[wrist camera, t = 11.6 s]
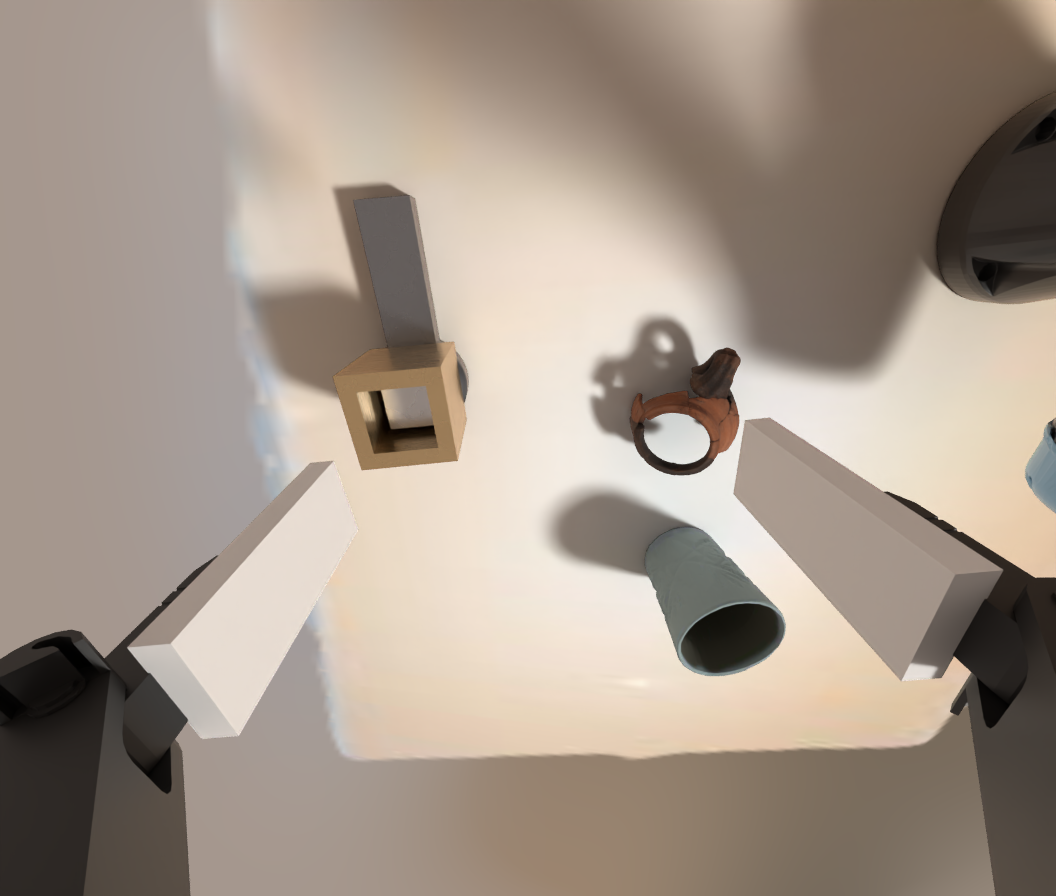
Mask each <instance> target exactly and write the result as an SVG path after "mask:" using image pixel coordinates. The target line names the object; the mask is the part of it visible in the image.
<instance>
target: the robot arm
mask: <svg viewBox="0 0 1056 896" xmlns="http://www.w3.org/2000/svg"><path fill="white" fill-rule="evenodd" d="M937 253H938V263H939V267H940V270H941V273H942V276H943V278H944V280H945V281H946V283H947V284H948V286H949V287H950V288H951V289H952V290H953V291H954V292H956V293H957V294H958V295H960V296H962V297H964V298H966V299H969V300H973V301H979V302H989V303H999V304H1022V303H1030V302H1036V301H1042V300H1048V299H1054V298H1056V92H1054V93H1051V94H1049V95H1047V96H1045V97H1043V98H1041V99H1039V100H1038V101H1036V102H1034V103H1033V104H1031V105H1029V106H1028V107H1026V108H1025V109H1023V110H1022V111H1020V112H1019V113H1018V114H1017V115H1015V116H1014V117H1013V118H1011V119H1010V120H1009V121H1008V122H1007V123H1005V124H1004V125H1003V126H1002V127H1001V128H1000V129H999V130H998V131H997V132H996V133H995V134H994V135H993V136H992V137H991V138H990V139H989V140H988V141H987V142H986V143H985V145H984V146H983V147H982V148H981V149H980V150H979V152H978V153H977V154H976V155H975V157H974V158H973V159H972V161H971V162H970V163H969V165H968V166H967V168H966V169H965V171H964V172H963V174H962V176H961V177H960V179H959V181H958V183H957V184H956V186H955V188H954V190H953V192H952V194H951V196H950V199H949V201H948V203H947V206H946V208H945V211H944V214H943V217H942V221H941V225H940V229H939V235H938V246H937ZM1025 478H1026V480H1027V482H1028V485H1029V487H1030V488H1031V489H1032V490H1033V492H1034V494H1035V495H1036V496H1037V498H1038V499H1039V500H1040V501H1041V502H1042V503H1044V504H1045V505H1046V506H1047V507H1048V508H1049V509H1051V510H1052V511H1053V512H1055V513H1056V418H1054V419H1053V420H1052V421H1050V422H1049V423H1048V424H1047V425H1046V427H1045V429H1044V438H1043V439H1042V441H1041V442H1040V444H1039V446H1038V447H1037V449H1036V450H1035V452H1034V453H1033V455H1032V457H1031V458H1030V460H1029V461H1028V463H1027V465H1026V469H1025ZM734 495H735V496H736V497H737V499H738V500H739V501H740V502H741V503H742V504H743V505H744V506H745V507H746V509H747V510H748V511H749V512H750V513H751V514H752V515H753V516H754V518H755V519H756V520H757V521H758V522H759V523H760V524H761V525H762V526H763V528H764V529H765V530H766V531H767V532H768V533H769V534H770V535H771V536H772V538H773V539H774V540H775V541H776V542H777V543H778V544H779V545H780V547H781V548H782V549H783V550H784V551H785V552H786V553H787V554H788V555H789V557H790V558H791V559H792V560H793V561H794V562H795V563H796V564H797V565H798V567H799V568H800V569H801V570H802V571H803V572H804V573H805V574H806V576H807V577H808V578H809V579H810V580H811V581H812V582H813V583H814V584H815V586H816V587H817V588H818V589H819V590H820V591H821V592H822V593H823V594H824V596H825V597H826V598H827V599H828V600H829V601H830V602H831V603H832V605H833V606H834V607H835V608H836V609H837V610H838V611H839V612H840V613H841V615H842V616H843V617H844V618H845V619H846V620H847V621H848V622H849V623H850V625H851V626H852V627H853V628H854V629H855V630H856V631H857V632H858V634H859V635H860V636H861V637H862V638H863V639H864V640H865V641H866V642H867V644H868V645H869V646H870V647H871V648H872V649H873V650H874V651H875V652H876V654H877V655H878V656H879V657H880V658H881V659H882V660H883V661H884V663H885V664H886V665H887V666H888V667H889V668H890V669H891V670H892V671H893V673H894V674H895V675H896V676H897V677H898V678H899V679H900V680H901V681H910V680H922V679H934V678H942V676H943V675H944V673H945V671H946V669H947V668H948V666H949V664H950V662H951V661H952V659H953V657H954V656H955V657H956V658H957V659H958V660H959V661H960V662H961V663H962V664H963V665H964V666H965V667H966V668H968V669H969V670H970V671H971V674H970V676H969V677H968V679H967V680H966V682H965V684H964V685H963V687H962V688H961V690H960V692H959V693H958V695H957V697H956V698H955V700H954V701H953V703H952V706H951V710H950V712H951V713H954V714H956V715H959V714H960V712H961V711H962V709H963V708H964V706H967V705H968V708H969V714H970V722H971V729H972V735H973V742H974V749H975V756H976V762H977V770H978V777H979V783H980V791H981V798H982V805H983V811H984V818H985V825H986V832H987V839H988V846H989V853H990V860H991V867H992V873H993V880H994V887H995V894H996V896H1056V578H1035V577H1033V576H1031V575H1030V574H1028V573H1027V572H1025V571H1023V570H1022V569H1020V568H1019V567H1017V566H1015V565H1014V564H1012V563H1011V562H1009V561H1007V560H1006V559H1004V558H1003V557H1001V556H999V555H998V554H996V553H995V552H993V551H991V550H990V549H988V548H987V547H985V546H983V545H982V544H980V543H979V542H977V541H975V540H974V539H972V538H971V537H969V536H968V535H966V534H964V533H963V532H957V529H956V528H955V527H953V526H952V525H950V524H948V523H947V522H945V521H944V520H938V517H937V516H936V515H934V514H932V513H931V512H929V511H928V510H926V509H924V508H923V507H921V506H920V505H918V504H916V503H915V502H912V501H910V500H907V499H905V498H902V497H900V496H897V495H895V494H892V493H890V492H883V491H881V490H880V489H878V488H877V487H875V486H874V485H872V484H871V483H869V482H868V481H866V480H864V479H863V478H861V477H860V476H858V475H857V474H855V473H854V472H852V471H851V470H849V469H848V468H846V467H844V466H843V465H841V464H840V463H838V462H837V461H835V460H834V459H832V458H831V457H829V456H828V455H826V454H825V453H823V452H821V451H820V450H818V449H817V448H815V447H814V446H812V445H811V444H809V443H808V442H806V441H805V440H803V439H802V438H800V437H798V436H797V435H795V434H794V433H792V432H791V431H789V430H788V429H786V428H785V427H783V426H782V425H780V424H778V423H777V422H775V421H774V420H772V419H771V418H762V419H752V420H745V424H744V430H743V436H742V443H741V449H740V456H739V462H738V468H737V475H736V481H735V487H734ZM357 531H358V527H357V524H356V521H355V518H354V516H353V513H352V510H351V507H350V504H349V502H348V499H347V496H346V493H345V491H344V488H343V485H342V482H341V479H340V477H339V474H338V471H337V468H336V465H335V463H334V461H326V462H316V463H310V464H309V465H308V466H307V467H306V468H305V469H304V470H303V471H302V472H301V473H300V474H299V475H298V476H297V477H296V478H295V479H294V480H293V481H292V482H291V483H290V484H289V485H288V486H287V487H286V488H285V489H284V490H283V491H282V492H281V493H280V494H279V495H278V496H277V497H276V498H275V499H274V500H273V501H272V502H271V503H270V504H269V505H268V506H267V507H266V508H265V509H264V510H263V511H262V512H261V513H260V514H259V515H258V516H257V517H256V518H255V519H254V520H253V522H251V523H250V524H249V526H247V527H246V528H245V530H243V531H242V532H241V534H239V535H238V536H237V537H236V539H234V540H233V541H232V542H231V544H230V545H228V546H227V547H226V548H225V550H223V551H222V553H221V554H220V555H218V556H216V557H214V558H213V559H211V560H210V561H208V562H207V563H205V564H204V565H202V566H201V567H199V568H198V569H196V570H195V571H194V572H193V573H192V574H191V575H189V576H188V578H186V579H185V580H184V581H183V582H182V583H181V584H180V585H179V586H178V587H177V591H175V592H172V593H171V594H170V595H169V596H168V597H167V598H166V599H165V600H164V601H163V602H162V606H158V607H157V608H156V609H155V610H154V611H153V612H152V613H151V614H150V615H149V616H148V617H147V618H146V619H144V620H143V621H142V622H141V623H140V624H139V625H138V626H137V627H136V628H135V629H134V630H133V631H132V632H131V634H129V635H128V636H127V637H126V638H125V639H124V640H123V641H122V642H121V643H120V644H119V645H118V646H117V647H116V648H115V649H114V650H113V651H112V652H111V653H110V654H109V655H108V656H107V657H106V658H105V659H104V658H103V657H102V655H101V654H100V653H99V652H98V651H97V650H96V649H95V647H94V646H93V645H92V644H91V643H90V642H89V641H88V639H87V638H86V637H85V636H84V635H83V634H82V633H81V632H79V631H75V630H67V631H61V632H55V633H52V634H50V635H47V636H44V637H41V638H39V639H36V640H34V641H32V642H30V643H28V644H26V645H24V646H22V647H20V648H18V649H16V650H14V651H12V652H11V653H9V654H8V655H6V656H5V657H3V658H2V659H0V896H190V881H189V864H188V846H187V829H186V811H185V795H184V794H185V793H184V776H183V760H182V759H183V758H182V750H181V748H180V746H179V744H178V743H177V741H176V740H175V738H176V737H177V736H178V734H179V733H180V731H181V730H182V729H183V727H184V725H185V724H186V723H187V722H188V723H189V724H190V725H191V726H192V728H193V729H194V730H195V731H196V732H197V734H198V735H199V736H200V737H201V739H206V738H218V737H230V736H239V734H240V732H241V731H242V729H243V728H244V726H245V724H246V722H247V721H248V719H249V717H250V716H251V714H252V712H253V710H254V709H255V707H256V705H257V703H258V702H259V700H260V698H261V697H262V695H263V693H264V691H265V690H266V688H267V686H268V684H269V683H270V681H271V679H272V678H273V676H274V674H275V672H276V671H277V669H278V667H279V666H280V664H281V662H282V660H283V659H284V657H285V655H286V653H287V652H288V650H289V648H290V646H291V645H292V643H293V641H294V640H295V638H296V636H297V634H298V633H299V631H300V629H301V628H302V626H303V624H304V622H305V621H306V619H307V617H308V616H309V614H310V612H311V610H312V609H313V607H314V605H315V603H316V602H317V600H318V598H319V597H320V595H321V593H322V591H323V590H324V588H325V586H326V584H327V583H328V581H329V579H330V578H331V576H332V574H333V572H334V571H335V569H336V567H337V566H338V564H339V562H340V560H341V559H342V557H343V555H344V553H345V552H346V550H347V548H348V547H349V545H350V543H351V541H352V540H353V538H354V536H355V535H356V533H357Z"/></svg>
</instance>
